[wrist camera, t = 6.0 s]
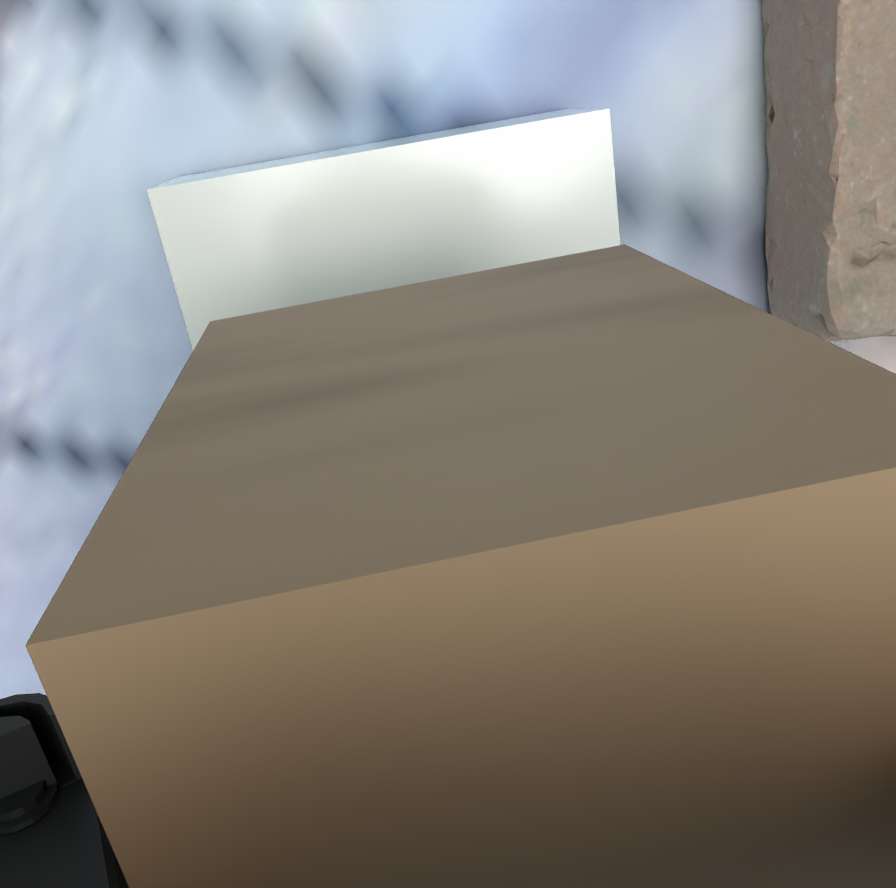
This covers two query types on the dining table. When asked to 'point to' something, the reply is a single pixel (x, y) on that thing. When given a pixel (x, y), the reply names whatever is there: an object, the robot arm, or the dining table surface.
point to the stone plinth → (387, 214)
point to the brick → (831, 165)
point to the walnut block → (496, 597)
